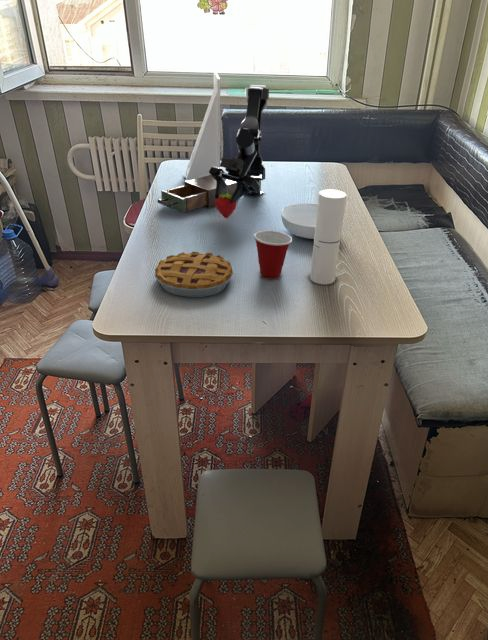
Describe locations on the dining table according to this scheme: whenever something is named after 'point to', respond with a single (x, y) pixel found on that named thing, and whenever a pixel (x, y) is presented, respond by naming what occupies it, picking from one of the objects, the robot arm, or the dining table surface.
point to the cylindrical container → (327, 235)
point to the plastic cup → (271, 252)
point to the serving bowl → (300, 219)
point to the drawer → (184, 198)
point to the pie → (194, 274)
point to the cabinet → (211, 188)
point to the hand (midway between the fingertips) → (223, 200)
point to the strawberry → (225, 205)
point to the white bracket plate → (207, 139)
